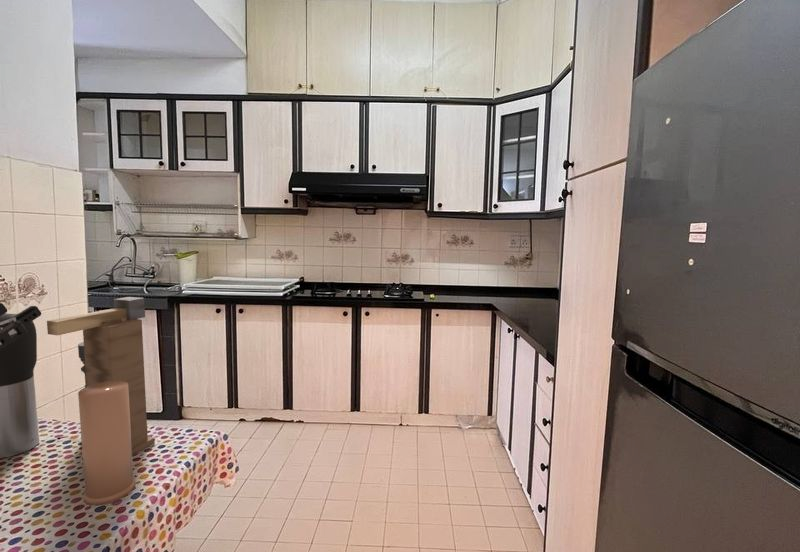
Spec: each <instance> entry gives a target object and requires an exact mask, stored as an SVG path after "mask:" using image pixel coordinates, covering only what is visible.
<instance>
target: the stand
mask: <svg viewBox="0 0 800 552" xmlns="http://www.w3.org/2000/svg"><path fill="white" fill-rule="evenodd" d="M82 336H83V338H82V339H83V342H84V355H85V370H86V385H87V386H90V385H93V384H97V383H102V382H108V381H124V382H127V383H128V390H129V408H130V426H131V444H132V458H133V457H134V456H136V455H137V454H139V453H141V452H143V451H144V450H146V449H148V448H150V447H151V446H153V445H155V444H156V443H155V442H156V441H155V437H153V436H148V421H147V419H148V418H147V417H148V416H147V401H146V399H147V396H146V381H145V379H146V377H145V357H144V356H145V355H144V339H143V320H142V319H141V318H139V319H135V320H125V321H122V318H118V319H113V320H108V321H104V322H102V326H98V327H94V328H89V329H85V330H82Z"/></svg>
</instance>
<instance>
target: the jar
mask: <svg viewBox="0 0 800 552" xmlns="http://www.w3.org/2000/svg"><path fill="white" fill-rule="evenodd" d="M77 393H78V395H77V396H78V408H79V410H78V411H79V422H80V423H79V425H80V438H81V450H82V451H81V453H82V466H83V467H82V468H83V480H84V490H83V493H82V495H83V502H84V503H85V504H86V505H88V506H102V505H108V504H110V503H114V502H116V501H119V500H121V499H122V498H124V497H126V496H128V495H129V494H130V493H131V492H132V491H134V489H135V487H136V477H135V475H134V468H133V467H134V466H133V457H132V444H131V426H130V408H129V390H128V383H127V382H124V381H108V382H102V383H97V384H93V385H90V386H87V387H85V386H84V387H82V388H81V389H80V390H79V391H78V392H77Z"/></svg>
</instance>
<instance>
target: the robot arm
mask: <svg viewBox="0 0 800 552" xmlns="http://www.w3.org/2000/svg"><path fill="white" fill-rule="evenodd" d="M41 315H42V311H40V309H39V307H38V305H37V306H36V305H30V306H29V307H27V308H25V309H23V310H22V311H20V312H19V313H8V308H7V307H6V306H5V304H4V303H2V302H0V459H1V458H3V459H4V458H8V457H13V456H17V455H19V454H22V453H25V452H27V451H29V450H31V449H33V448H35V447H36V446H38V444H39V443H40V435H39V422H38V410H37V408H38V407H37V400H36V399H37V398H36V388H35V387H36V386H35V374H34V370H35V367H36V365H37V360H38V349H37V348H38V345H37V343H38V342H37V339H38V337H37V328H36V324H35V323H34V321H35V320H36V319H37V318H39V317H41Z"/></svg>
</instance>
